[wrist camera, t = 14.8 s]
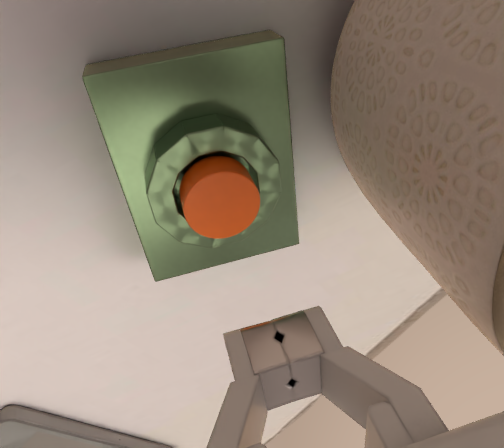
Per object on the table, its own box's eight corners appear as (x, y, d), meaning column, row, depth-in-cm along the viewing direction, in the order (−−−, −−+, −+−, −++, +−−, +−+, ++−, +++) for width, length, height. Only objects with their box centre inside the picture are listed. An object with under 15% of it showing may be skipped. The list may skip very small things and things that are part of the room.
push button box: (85, 64, 19) (77, 88, 16) (270, 29, 20) (298, 45, 17) (152, 259, 26) (157, 303, 23) (288, 224, 27) (309, 262, 24)
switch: (171, 164, 19) (175, 182, 18) (246, 147, 20) (255, 163, 18) (187, 227, 21) (192, 247, 20) (255, 210, 22) (264, 228, 20)
